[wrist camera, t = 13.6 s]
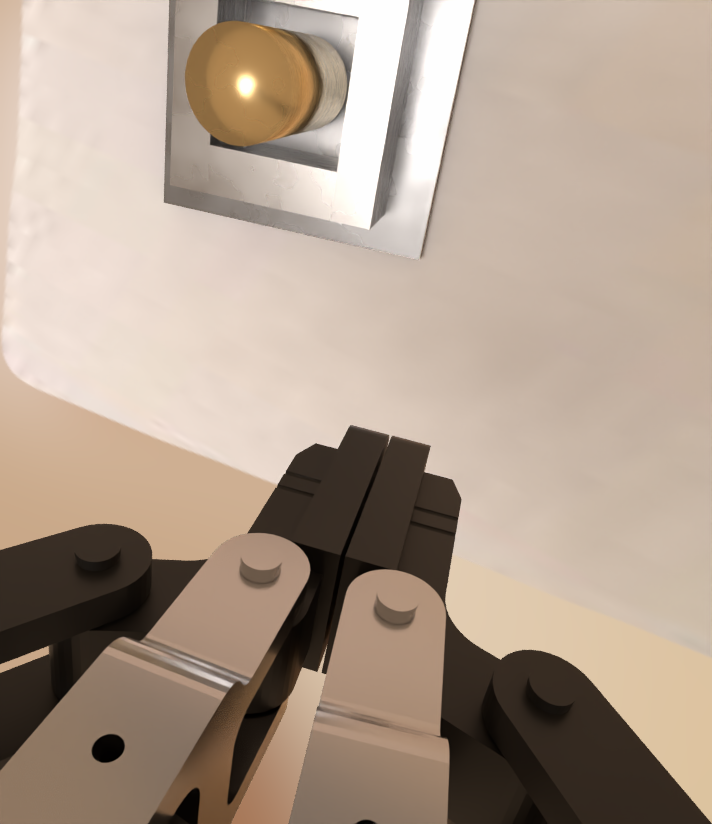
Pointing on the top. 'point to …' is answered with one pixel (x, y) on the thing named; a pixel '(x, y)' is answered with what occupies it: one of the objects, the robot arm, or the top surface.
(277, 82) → the gold and grey cylinder
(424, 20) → the jig
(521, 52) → the top surface
